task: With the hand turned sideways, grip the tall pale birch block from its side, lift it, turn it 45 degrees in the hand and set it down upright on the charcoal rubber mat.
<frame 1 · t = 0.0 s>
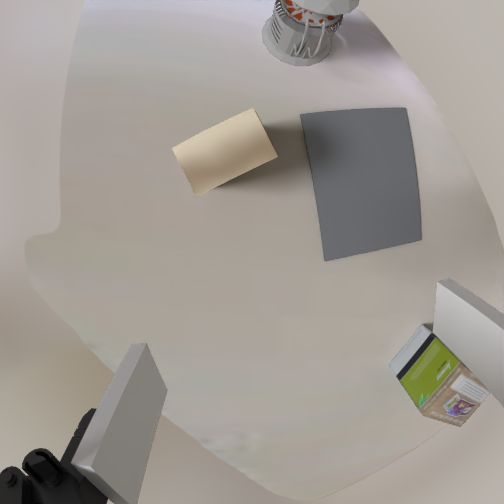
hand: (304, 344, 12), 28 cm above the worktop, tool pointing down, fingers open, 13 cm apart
tea box: (424, 355, 47), on the worktop
birch block: (229, 157, 36), on the worktop
french press: (296, 42, 32), on the worktop
mat: (368, 180, 37), on the worktop
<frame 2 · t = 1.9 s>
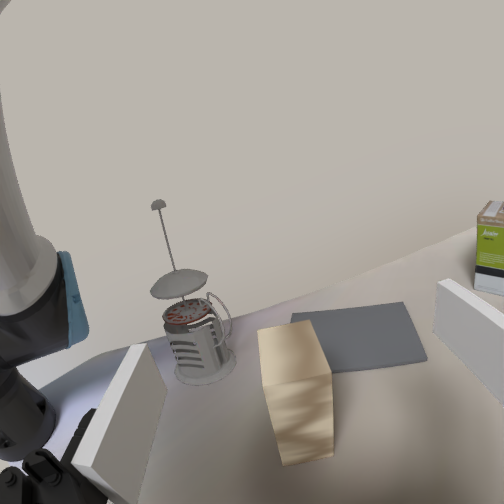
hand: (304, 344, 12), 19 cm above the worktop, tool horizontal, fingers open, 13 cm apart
tea box: (500, 280, 42), on the worktop
birch block: (302, 433, 26), on the worktop
french press: (209, 366, 42), on the worktop
mat: (351, 336, 41), on the worktop
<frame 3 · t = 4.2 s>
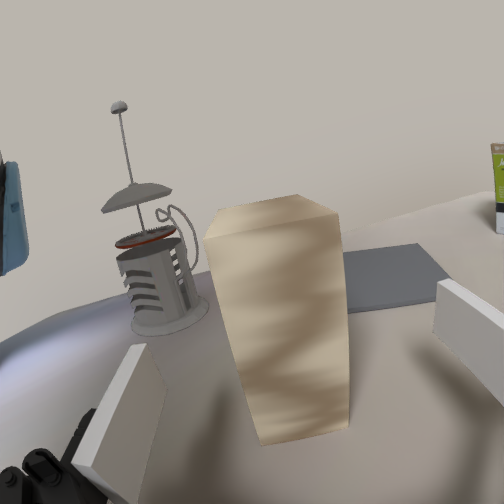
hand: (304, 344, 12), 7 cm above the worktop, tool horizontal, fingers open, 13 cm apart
birch block: (295, 393, 18), on the worktop
french press: (174, 316, 33), on the worktop
mat: (359, 276, 33), on the worktop
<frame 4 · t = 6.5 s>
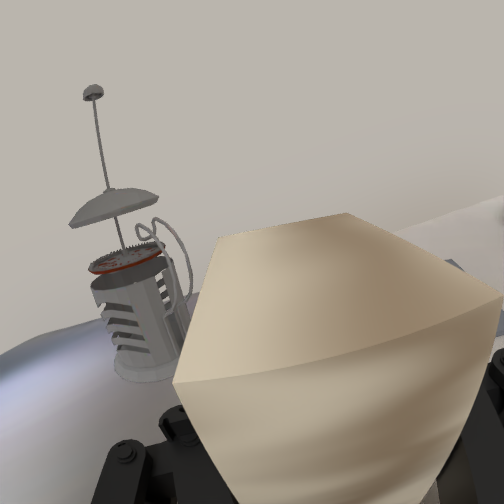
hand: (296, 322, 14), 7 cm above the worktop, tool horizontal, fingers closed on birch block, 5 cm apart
birch block: (326, 486, 10), on the worktop, touching gripper
french press: (166, 354, 26), on the worktop
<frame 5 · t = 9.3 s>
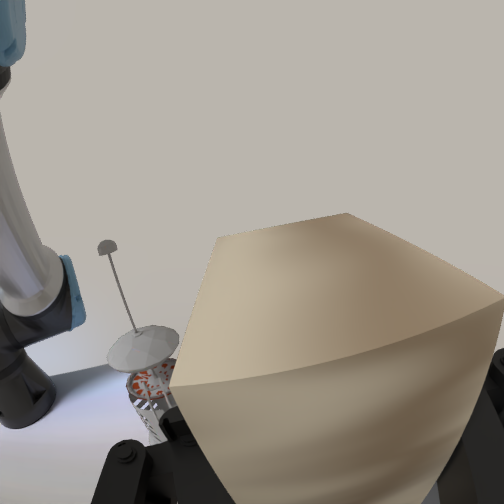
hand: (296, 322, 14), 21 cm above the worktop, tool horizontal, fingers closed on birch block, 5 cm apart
birch block: (326, 487, 10), point 14 cm above the worktop, touching gripper
french press: (186, 437, 30), on the worktop
when the fingers open (9 cm above the worktop, at t = 12.2 s): birch block drops 1 cm, resting on mat.
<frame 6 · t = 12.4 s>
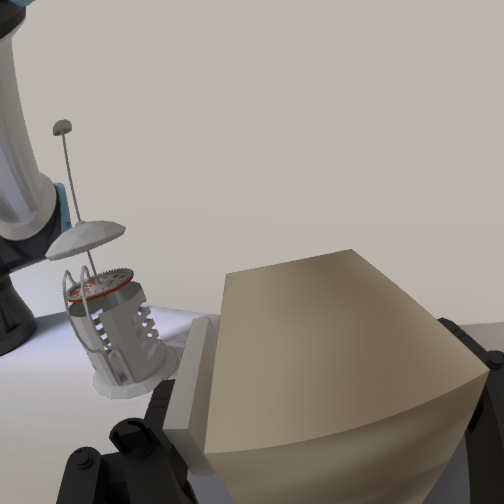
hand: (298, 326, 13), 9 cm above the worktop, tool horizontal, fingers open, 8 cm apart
birch block: (326, 497, 11), resting on mat
french press: (133, 374, 26), on the worktop
mat: (326, 499, 11), on the worktop
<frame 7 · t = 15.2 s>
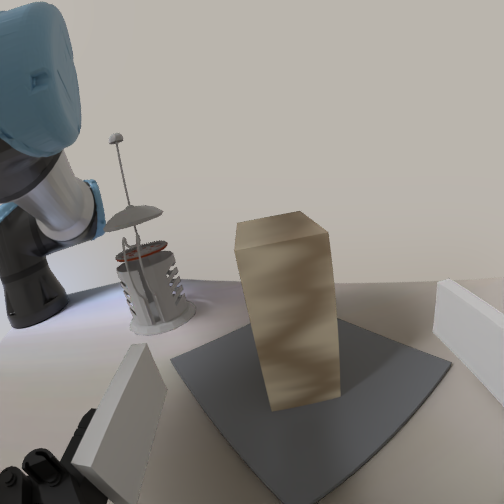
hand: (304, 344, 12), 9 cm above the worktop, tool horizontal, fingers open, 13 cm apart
birch block: (297, 371, 22), resting on mat
french press: (162, 320, 38), on the worktop
mat: (298, 375, 23), on the worktop
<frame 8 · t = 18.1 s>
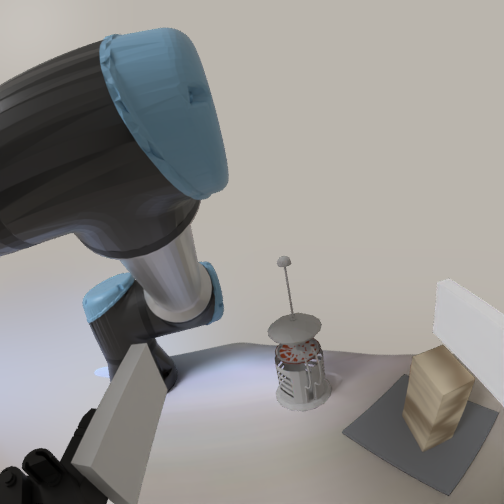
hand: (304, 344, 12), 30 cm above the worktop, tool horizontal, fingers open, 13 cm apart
birch block: (426, 426, 30), resting on mat
french press: (305, 395, 46), on the worktop
mat: (425, 428, 31), on the worktop
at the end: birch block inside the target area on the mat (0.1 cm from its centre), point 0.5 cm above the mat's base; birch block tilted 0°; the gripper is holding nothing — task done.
